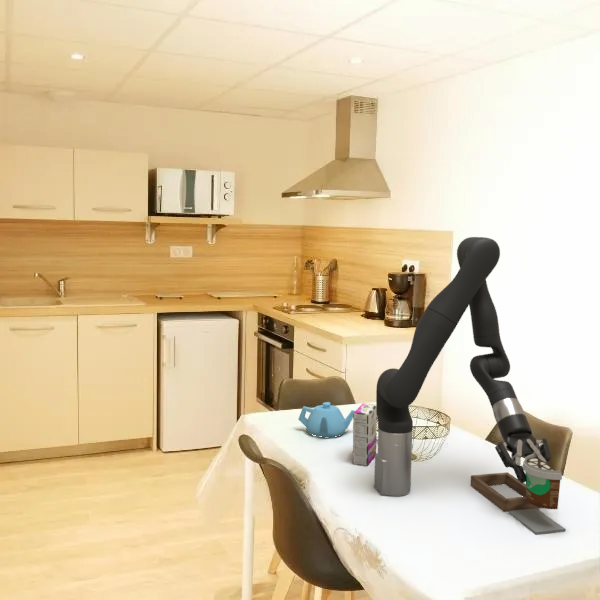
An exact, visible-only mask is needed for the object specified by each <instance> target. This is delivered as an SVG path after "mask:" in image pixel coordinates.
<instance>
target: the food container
mask: <svg viewBox="0 0 600 600" xmlns="http://www.w3.org/2000/svg"><path fill="white" fill-rule="evenodd" d="M521 466H522V468H523V470H524V472H525V475H526V478H527V481H526V482H525V484H526V498H527V501H528V502H529V503H530V504H532V505H534V506H537V507H540V508H539V509H547V510H558V508H559V499H560V498H559V497H560V489H561V488H560V486H561V481H562V480H563V474H562V470H561V469H560V470H555V469H554V467H552V465H550V464H549V462H548V463H546V462H544V461H542V460H541V459H539V458H537V457H536V455H535V454H534V453H532V454H531V455H528V456H527V457H524V460H523V464H522V465H521Z"/></svg>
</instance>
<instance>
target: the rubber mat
mask: <svg viewBox="0 0 600 600" xmlns="http://www.w3.org/2000/svg"><path fill="white" fill-rule="evenodd" d="M507 513H508V515H510V516H511V517H512V516H513V517H512V518H514V519H515V520H516V521H518V522H519V523H520V524H522V525H523V526H524V527H525V528H527V529H528V530H529V531H530V532H531V533H533V534H534V535H535V536H537V535H538V536H539V535H547V534H554V533H556V534H557V533H564V532H566V530H567V529H566V528H565V527H564V526H562V525H561V524H559V523H558V522H557V521H556V520H554V519H552V518H551V517H550V516H548V515H546V513H544V512H542V511H541V510H539V509H537V508H532V509H522V510H512V511H508V512H507Z"/></svg>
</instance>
